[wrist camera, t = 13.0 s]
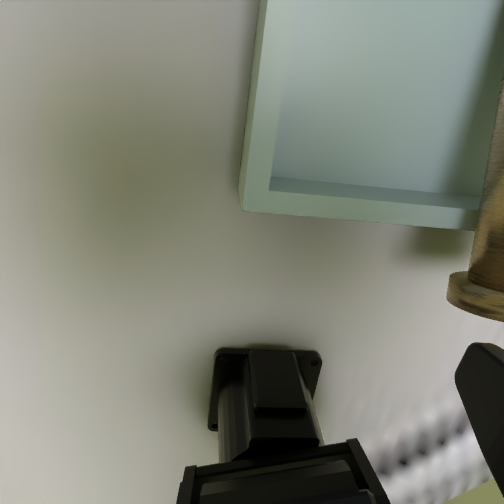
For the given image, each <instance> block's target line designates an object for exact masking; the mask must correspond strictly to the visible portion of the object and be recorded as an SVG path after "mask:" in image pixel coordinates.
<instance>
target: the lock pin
mask: <svg viewBox="0 0 504 504" xmlns="http://www.w3.org/2000/svg"><path fill="white" fill-rule="evenodd" d="M446 298H447V300H448V301H449V302H450V303H451V304H452V305H454V306H456V307H458V308H460V309H462V310H464V311H467V312H469V313H472V314H475V315H478V316H481V317H485V318H489V319H492V320H497V321H501V322H504V68H503V74H502V80H501V85H500V91H499V97H498V103H497V108H496V114H495V120H494V126H493V131H492V137H491V143H490V149H489V154H488V160H487V166H486V172H485V178H484V183H483V189H482V195H481V201H480V206H479V212H478V218H477V224H476V229H475V235H474V241H473V247H472V252H471V258H470V264H469V270H468V271H462V272H455V273H452V274H451V275H450V278H449V284H448V290H447V296H446Z"/></svg>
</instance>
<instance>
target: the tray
mask: <svg viewBox="0 0 504 504" xmlns="http://www.w3.org/2000/svg"><path fill="white" fill-rule="evenodd" d="M503 68H504V0H259V9H258V17H257V26H256V35H255V44H254V52H253V61H252V70H251V78H250V87H249V96H248V105H247V113H246V122H245V131H244V140H243V148H242V157H241V166H240V174H239V183H238V192H239V198H240V203H241V208H242V211H248V212H260V213H271V214H283V215H295V216H306V217H318V218H330V219H341V220H353V221H365V222H376V223H388V224H400V225H411V226H423V227H434V228H446V229H458V230H469V231H475V229H476V224H477V218H478V212H479V206H480V201H481V195H482V189H483V183H484V178H485V172H486V166H487V160H488V154H489V149H490V143H491V137H492V131H493V126H494V120H495V114H496V108H497V103H498V97H499V91H500V85H501V80H502V74H503Z"/></svg>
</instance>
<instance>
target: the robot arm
mask: <svg viewBox="0 0 504 504" xmlns="http://www.w3.org/2000/svg"><path fill="white" fill-rule="evenodd" d="M223 356H224V357H226V358H224V359H222V358H221V357H223ZM312 360H316V361H314V362H311V361H312ZM321 366H322V359H321V356H320V355H319V354H318V353H316V352H296V351H271V350H245V349H220V350H218V351H217V352H216V353H215V359H214V368H213V377H212V386H211V395H210V404H209V414H208V429H209V430H211V431H218V440H219V463H217V464H211V465H205V466H200V467H197V466H196V465H193V466H187V467H185V471H184V476H183V482H181V483H180V487H179V492H178V497H177V503H176V504H391V503H390V501H389V499H388V497H387V495H386V493H385V491H384V489H383V487H382V485H381V483H380V481H379V479H378V477H377V476H376V474H375V472H374V470H373V468H372V466H371V464H370V462H369V460H368V458H367V456H366V454H365V453H364V451H363V449H362V447H361V445H360V443H359V441H358V439H357V438H353V439H348V440H346V442H342V443H336V444H330V445H325V444H324V440H323V437H322V433H321V430H320V427H319V423H318V420H317V416H316V413H315V409H314V406H313V402H312V401H313V397H314V393H315V389H316V385H317V381H318V377H319V373H320V370H321ZM455 384H456V387H457V389H458V392H459V395H460V397H461V400H462V402H463V405H464V407H465V410H466V413H467V415H468V418H469V420H470V423H471V426H472V428H473V431H474V433H475V436H476V439H477V441H478V444H479V446H480V449H481V451H482V453H483V456H484V458H485V460H486V462H487V464H488V467H489V469H490V471H491V473H492V475H493V477H494V479H495V481H496V483H497V485H498V487H499V489H500V491H501V493H502V495H503V497H504V349H502V348H500V347H498V346H497V345H494V344H491V343H477V342H476V343H472V344H471V345H469V346H468V348H467V350H466V352H465V354H464V356H463V357H462V359H461V361H460V363H459V365H458V367H457V369H456V372H455ZM214 423H217V424H214Z"/></svg>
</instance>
